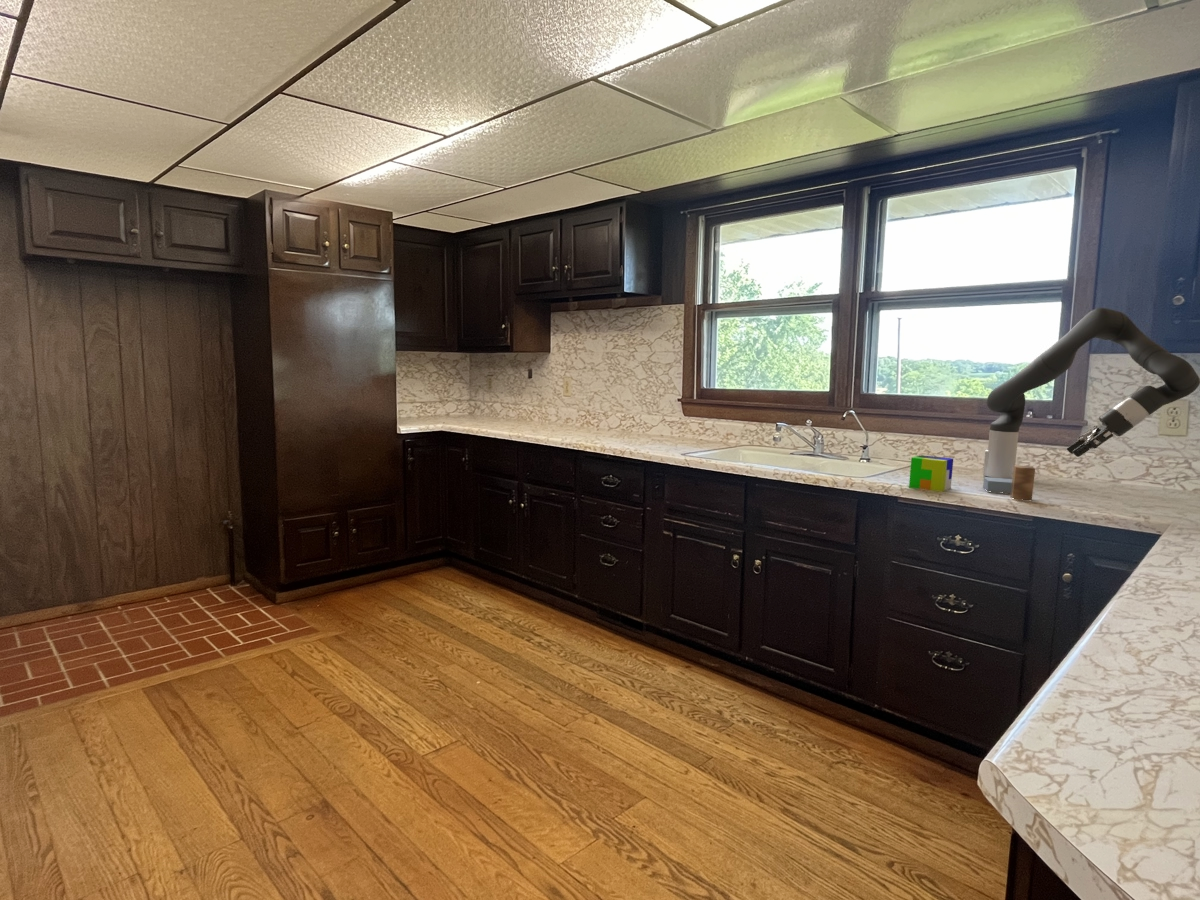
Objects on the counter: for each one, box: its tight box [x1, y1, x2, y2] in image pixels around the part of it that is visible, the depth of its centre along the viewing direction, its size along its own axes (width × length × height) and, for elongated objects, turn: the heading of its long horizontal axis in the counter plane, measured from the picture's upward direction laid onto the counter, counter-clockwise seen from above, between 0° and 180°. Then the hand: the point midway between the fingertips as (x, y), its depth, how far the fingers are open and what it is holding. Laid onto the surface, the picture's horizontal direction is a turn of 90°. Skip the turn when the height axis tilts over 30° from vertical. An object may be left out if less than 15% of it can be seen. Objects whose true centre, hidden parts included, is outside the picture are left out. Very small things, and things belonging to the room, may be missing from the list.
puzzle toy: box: [908, 455, 954, 493], centre depth 223 cm, size 10×10×10 cm
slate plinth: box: [982, 476, 1012, 494], centre depth 220 cm, size 9×9×4 cm
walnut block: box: [1010, 464, 1036, 501], centre depth 207 cm, size 5×5×10 cm
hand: (1071, 453), depth 200 cm, fingers open, 8 cm apart
